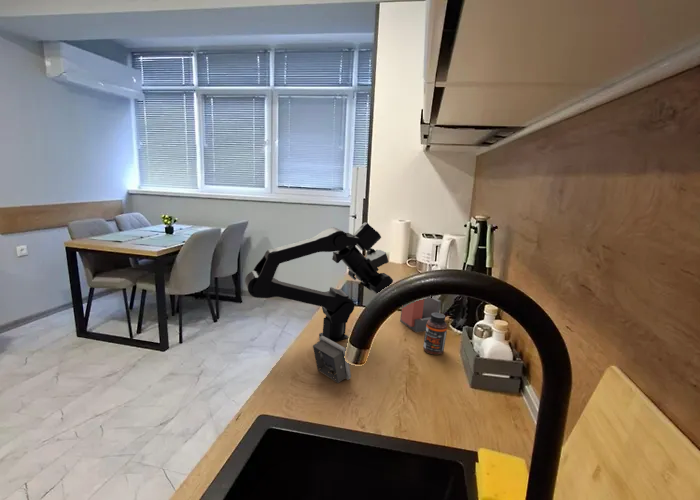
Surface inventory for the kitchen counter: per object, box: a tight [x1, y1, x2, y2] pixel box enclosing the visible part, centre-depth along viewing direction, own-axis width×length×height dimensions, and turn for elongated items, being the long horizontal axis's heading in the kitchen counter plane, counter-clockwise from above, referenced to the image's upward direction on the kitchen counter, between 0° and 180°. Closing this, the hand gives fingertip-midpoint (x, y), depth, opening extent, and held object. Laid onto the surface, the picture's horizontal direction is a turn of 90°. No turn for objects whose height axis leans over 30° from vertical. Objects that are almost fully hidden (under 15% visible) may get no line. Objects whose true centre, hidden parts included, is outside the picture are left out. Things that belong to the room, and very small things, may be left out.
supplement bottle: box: [422, 312, 448, 355], centre depth 111 cm, size 6×6×11 cm
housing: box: [399, 296, 442, 333], centre depth 129 cm, size 8×10×10 cm
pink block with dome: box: [400, 299, 424, 327], centre depth 127 cm, size 4×6×11 cm
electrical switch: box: [312, 336, 352, 384], centre depth 93 cm, size 9×5×9 cm, turn 45°
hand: (383, 293), depth 120 cm, fingers closed
